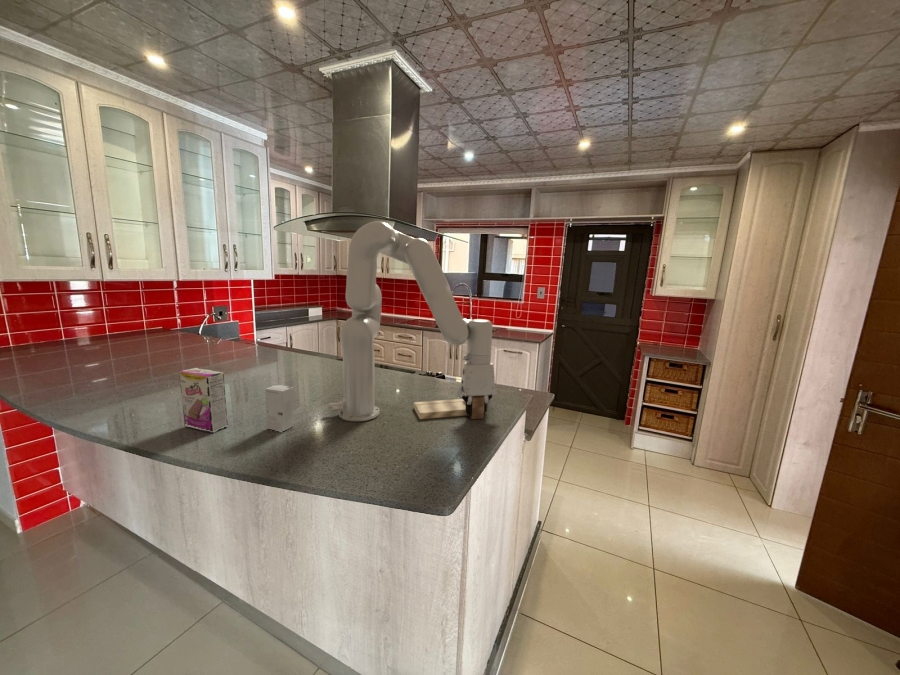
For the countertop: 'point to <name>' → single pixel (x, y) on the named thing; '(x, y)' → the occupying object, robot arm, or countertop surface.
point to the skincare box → (279, 407)
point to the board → (440, 408)
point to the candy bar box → (203, 398)
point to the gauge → (477, 407)
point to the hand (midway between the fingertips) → (475, 413)
